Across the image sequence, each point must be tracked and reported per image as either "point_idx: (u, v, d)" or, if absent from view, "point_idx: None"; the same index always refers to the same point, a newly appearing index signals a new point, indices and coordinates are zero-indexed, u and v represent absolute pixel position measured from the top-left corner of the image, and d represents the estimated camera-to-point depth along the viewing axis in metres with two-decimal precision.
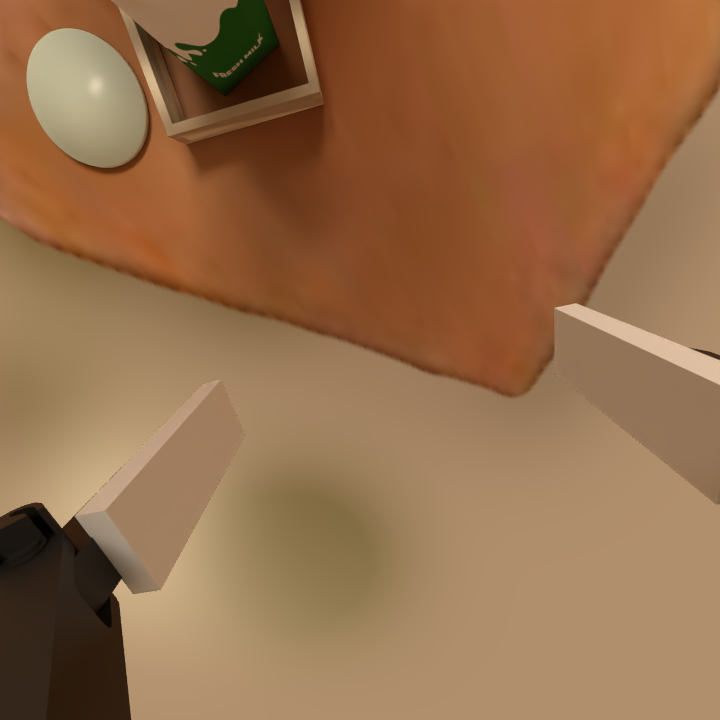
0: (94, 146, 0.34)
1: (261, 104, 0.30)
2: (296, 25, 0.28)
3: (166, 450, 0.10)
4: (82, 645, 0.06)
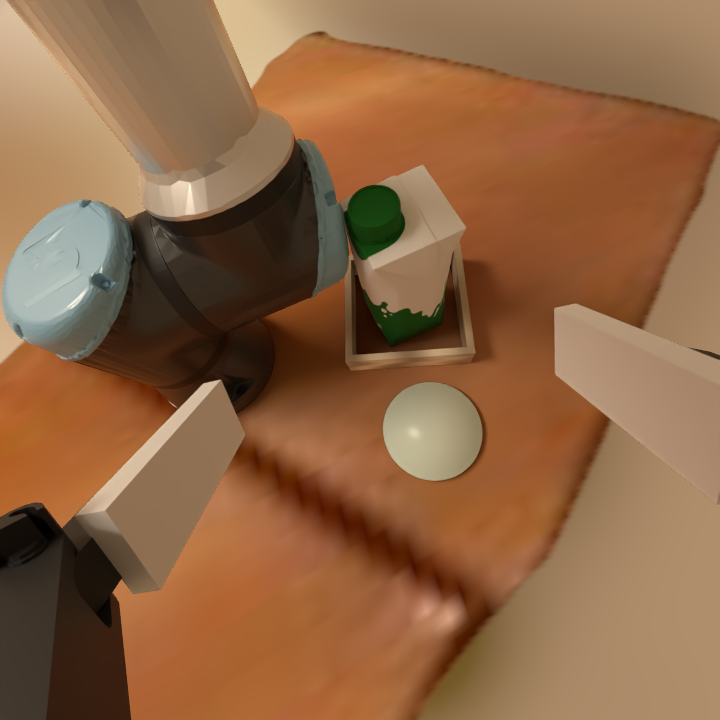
0: (464, 439, 0.37)
1: (462, 280, 0.40)
2: None
3: (166, 450, 0.10)
4: (82, 645, 0.06)
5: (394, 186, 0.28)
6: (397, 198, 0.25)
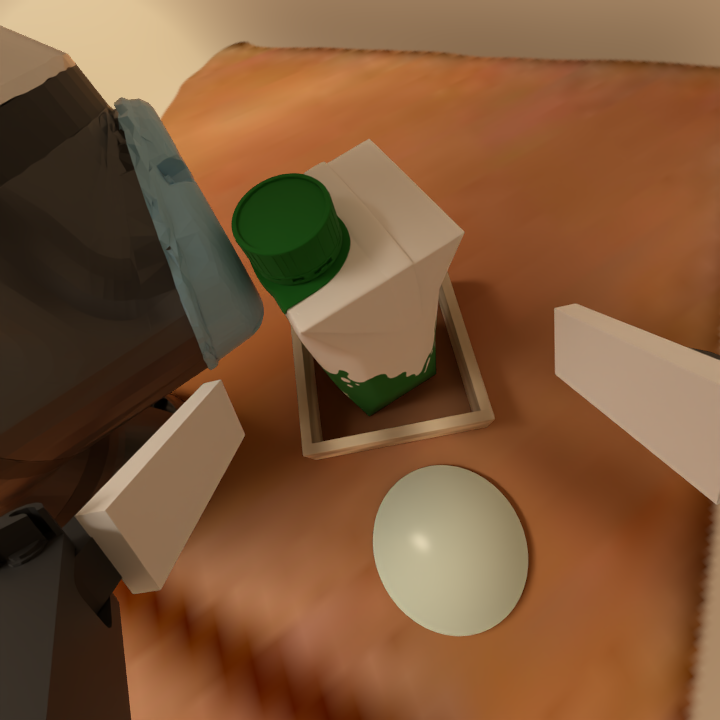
0: (500, 555, 0.24)
1: (456, 311, 0.28)
2: None
3: (166, 450, 0.10)
4: (82, 645, 0.06)
5: (324, 179, 0.16)
6: (324, 192, 0.13)
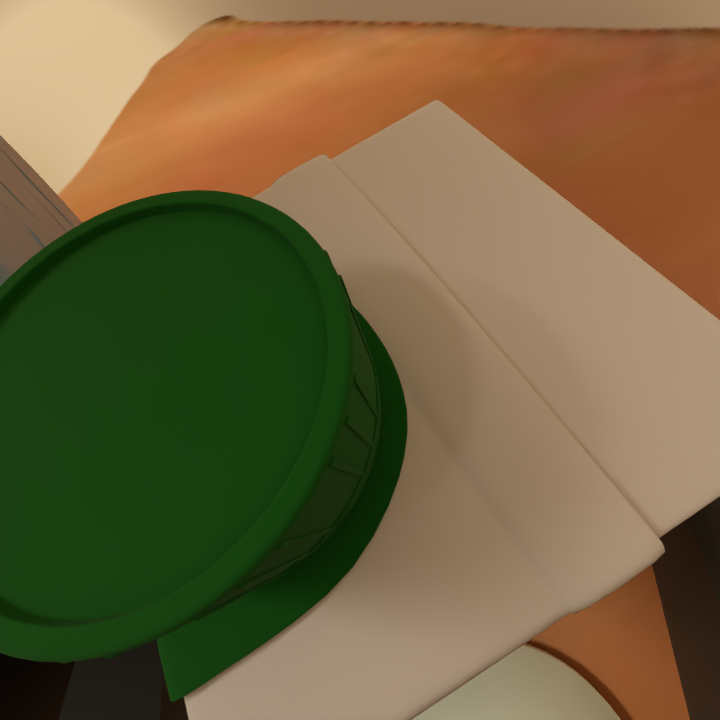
0: None
1: None
2: None
3: None
4: None
5: (324, 200, 0.06)
6: (323, 282, 0.03)
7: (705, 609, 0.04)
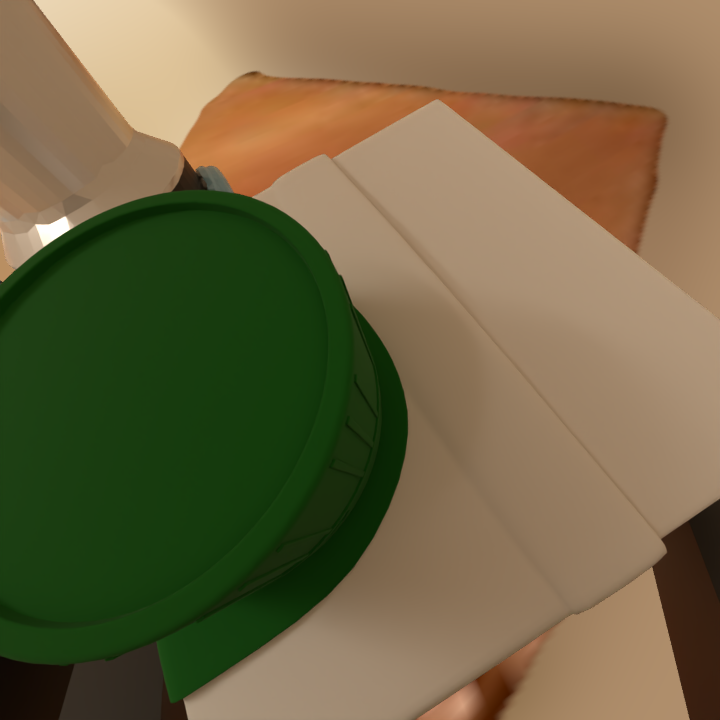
0: None
1: None
2: None
3: None
4: None
5: (324, 200, 0.06)
6: (324, 283, 0.03)
7: (705, 611, 0.04)
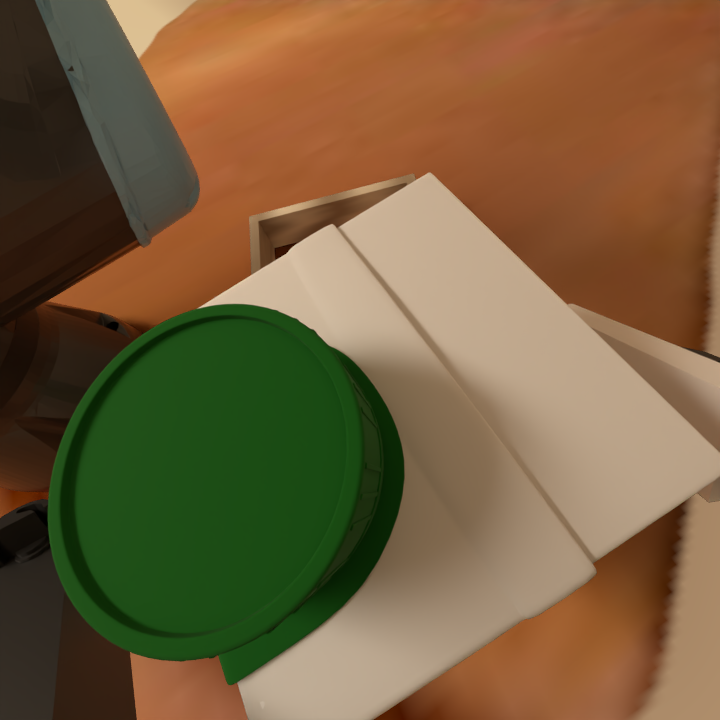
0: None
1: None
2: (359, 194, 0.28)
3: None
4: (88, 641, 0.06)
5: (334, 270, 0.07)
6: (342, 391, 0.04)
7: None
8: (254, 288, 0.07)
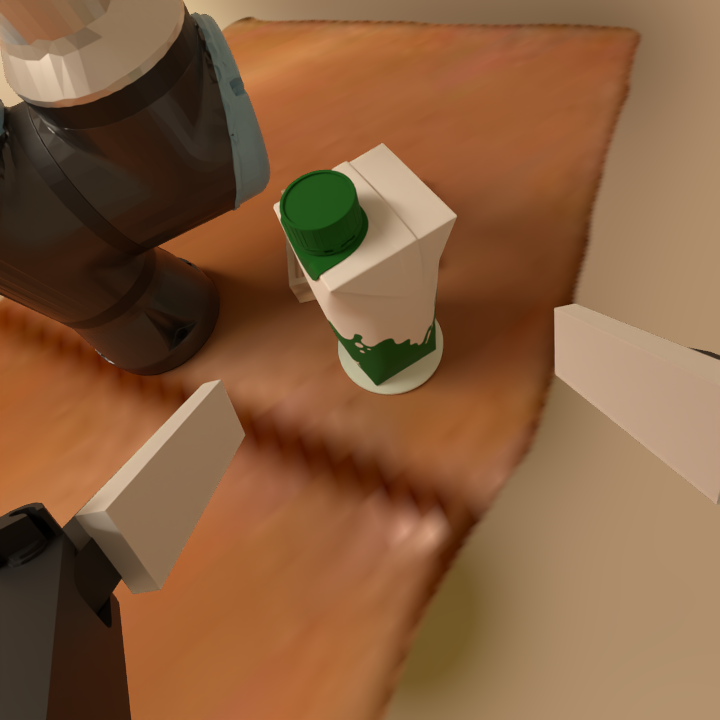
0: None
1: None
2: None
3: (166, 450, 0.10)
4: (82, 645, 0.06)
5: (347, 175, 0.20)
6: (350, 184, 0.17)
7: None
8: None
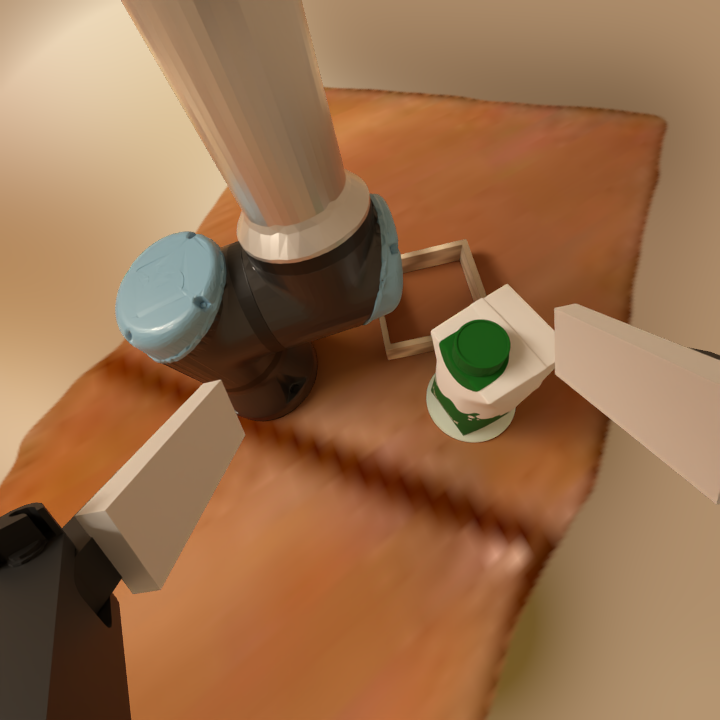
0: None
1: (474, 269, 0.47)
2: (434, 250, 0.49)
3: (166, 450, 0.10)
4: (82, 645, 0.06)
5: (485, 310, 0.28)
6: (505, 333, 0.25)
7: None
8: (463, 314, 0.28)
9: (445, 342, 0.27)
